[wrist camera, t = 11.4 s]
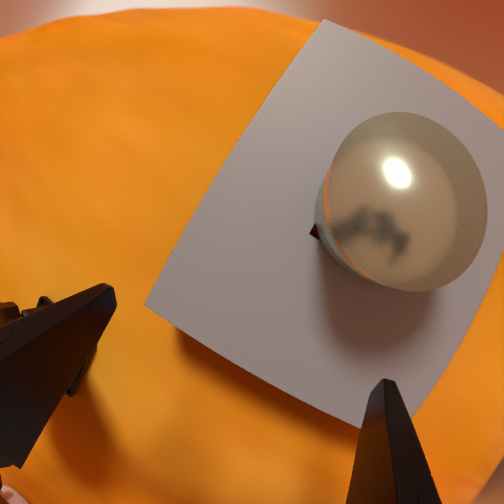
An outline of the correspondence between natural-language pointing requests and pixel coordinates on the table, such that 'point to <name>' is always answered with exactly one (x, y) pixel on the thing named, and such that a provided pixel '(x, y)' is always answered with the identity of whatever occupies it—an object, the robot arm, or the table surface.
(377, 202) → the grey beige cylinder
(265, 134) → the base
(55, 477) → the table surface
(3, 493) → the mug
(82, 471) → the table surface
